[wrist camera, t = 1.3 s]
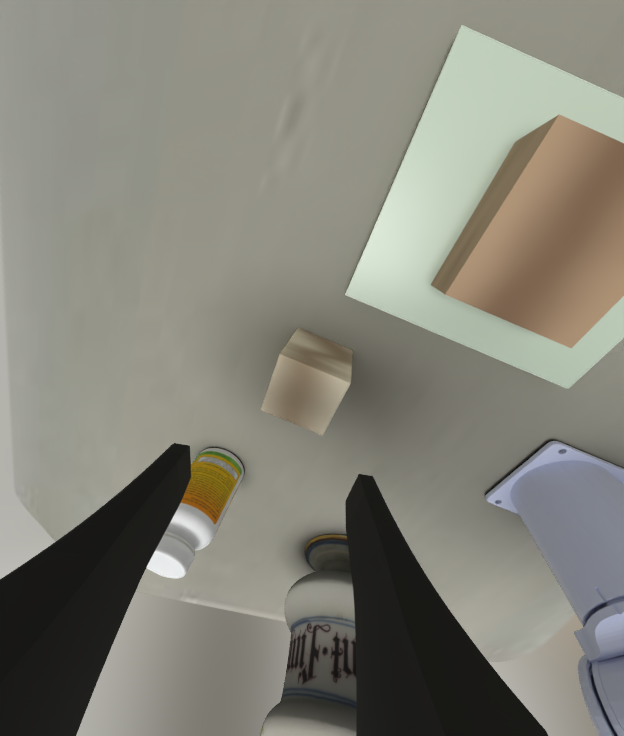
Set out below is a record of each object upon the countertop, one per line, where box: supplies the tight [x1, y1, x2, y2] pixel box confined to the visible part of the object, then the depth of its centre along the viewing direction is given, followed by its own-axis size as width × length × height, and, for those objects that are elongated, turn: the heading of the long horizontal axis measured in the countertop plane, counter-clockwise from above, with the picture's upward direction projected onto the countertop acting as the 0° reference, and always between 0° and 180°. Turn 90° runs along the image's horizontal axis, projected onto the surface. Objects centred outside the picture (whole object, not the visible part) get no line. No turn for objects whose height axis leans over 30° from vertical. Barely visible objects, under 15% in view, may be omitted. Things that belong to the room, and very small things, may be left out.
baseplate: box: [345, 25, 624, 389], centre depth 14 cm, size 16×12×1 cm
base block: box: [431, 115, 624, 348], centre depth 12 cm, size 7×7×3 cm
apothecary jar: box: [260, 534, 357, 736], centre depth 24 cm, size 12×12×18 cm
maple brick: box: [261, 328, 353, 435], centre depth 18 cm, size 4×4×5 cm
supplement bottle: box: [147, 448, 244, 578], centre depth 24 cm, size 5×5×10 cm
